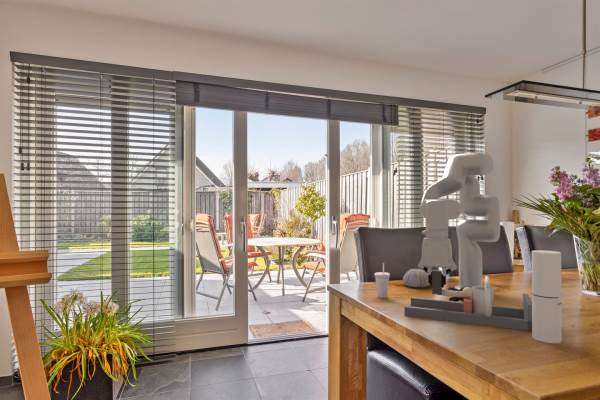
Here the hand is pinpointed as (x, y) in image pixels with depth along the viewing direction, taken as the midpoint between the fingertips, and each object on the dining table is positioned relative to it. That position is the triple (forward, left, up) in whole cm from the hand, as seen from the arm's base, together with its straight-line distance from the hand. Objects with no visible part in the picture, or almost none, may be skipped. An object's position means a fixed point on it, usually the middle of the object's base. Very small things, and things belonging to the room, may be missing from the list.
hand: (437, 285), depth 133 cm
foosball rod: (0, +5, -9) cm, 11 cm away
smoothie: (-15, -23, -10) cm, 29 cm away
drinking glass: (0, +14, -10) cm, 17 cm away
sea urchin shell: (-43, -13, -10) cm, 46 cm away
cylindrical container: (+13, +31, -10) cm, 35 cm away
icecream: (-19, +10, -10) cm, 24 cm away
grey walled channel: (0, +10, -10) cm, 14 cm away
